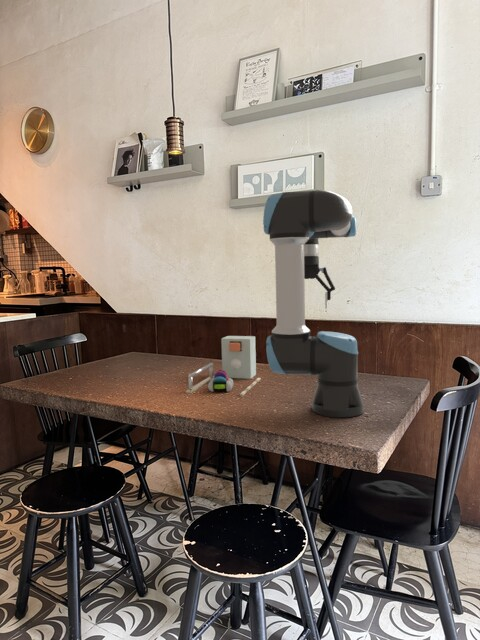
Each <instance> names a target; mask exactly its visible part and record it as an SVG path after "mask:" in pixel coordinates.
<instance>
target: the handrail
mask: <svg viewBox="0 0 480 640" xmlns="http://www.w3.org/2000/svg"><path fill="white" fill-rule="evenodd" d="M206 370H209V376H208V377H206V378H205V379H203V380H201V381H200V382H198V383H196V384H195V385H193V377H195V376H197V375H198V374H201V373H203V372H204V371H206ZM187 378H188V389H187V390H185V393H186V394H192V393H194V392H195V391H197V390H198V389H200V388H201V387H202V386H204V385H206V384H207V383H209V382H210V381H211V379H213V378H214V363H213V362H210V363H208V364H206V365H204V366H203V367H201V368H199V369H196V370H195V371H193V372H192V373H189V374H188V375H187Z"/></svg>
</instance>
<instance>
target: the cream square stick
mask: <svg viewBox="0 0 480 640" xmlns="http://www.w3.org/2000/svg"><path fill="white" fill-rule="evenodd" d="M261 380H262V379H261V377H257V378H256V379H255V380H254V381H252V383H251V384H250V385H249V386H247V387H246V388H245V389H244V390H242V391H241V392H240V393H239V396H240V397H243V396H244V395H245V394H247V393H248V392H249V391H250V390H251V389H252V388H253V387H254V386H255V385H256V384H258V382H260V381H261Z"/></svg>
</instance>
